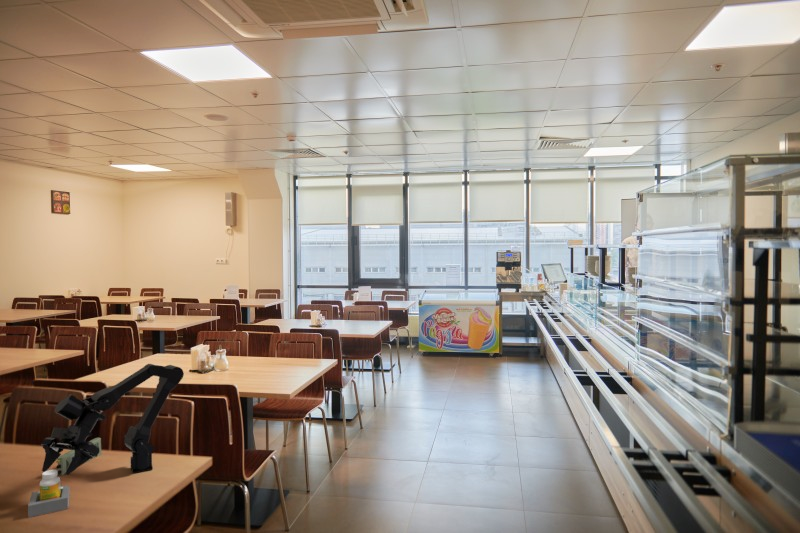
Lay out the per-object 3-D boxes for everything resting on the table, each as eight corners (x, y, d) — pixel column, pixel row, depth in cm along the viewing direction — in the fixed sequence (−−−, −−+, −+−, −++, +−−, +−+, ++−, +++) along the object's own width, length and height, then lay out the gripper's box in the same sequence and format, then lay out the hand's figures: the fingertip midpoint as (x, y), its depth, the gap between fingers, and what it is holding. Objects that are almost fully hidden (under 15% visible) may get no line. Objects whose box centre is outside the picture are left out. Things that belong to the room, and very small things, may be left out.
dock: (69, 495, 168) (69, 485, 168) (67, 508, 159) (67, 497, 159) (32, 503, 163) (31, 492, 163) (28, 517, 154) (28, 506, 154)
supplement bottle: (38, 508, 157) (37, 477, 157) (41, 501, 162) (40, 470, 162) (59, 504, 160) (58, 473, 160) (61, 497, 165) (61, 467, 164)
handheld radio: (103, 454, 203) (51, 482, 178) (95, 454, 203) (43, 482, 178) (102, 437, 203) (50, 463, 178) (94, 437, 203) (42, 463, 178)
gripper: (44, 413, 169) (13, 459, 159) (91, 417, 165) (61, 465, 154) (66, 428, 177) (38, 473, 167) (111, 433, 173) (84, 479, 162)
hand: (54, 473), depth 163 cm, fingers open, 9 cm apart
